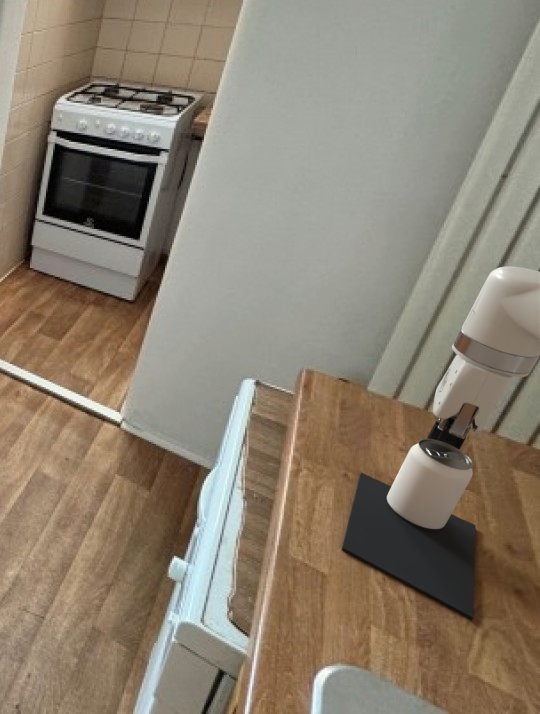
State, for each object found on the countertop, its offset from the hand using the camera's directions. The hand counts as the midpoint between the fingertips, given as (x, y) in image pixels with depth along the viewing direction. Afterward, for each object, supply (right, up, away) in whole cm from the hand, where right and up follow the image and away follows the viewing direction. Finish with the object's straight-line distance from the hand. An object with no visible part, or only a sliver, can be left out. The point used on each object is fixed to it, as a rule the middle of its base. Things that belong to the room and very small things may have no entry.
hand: (439, 449), depth 91 cm
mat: (-8, -12, -3) cm, 15 cm away
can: (-3, -10, +1) cm, 11 cm away
